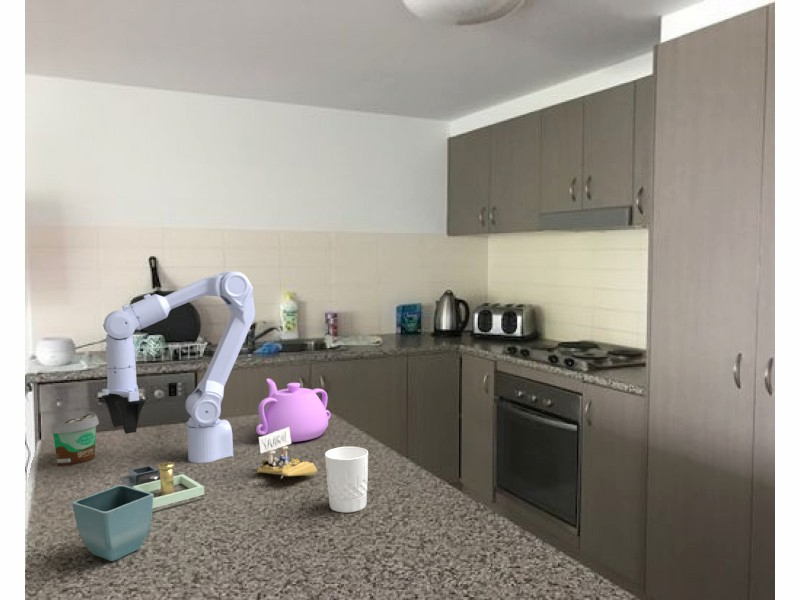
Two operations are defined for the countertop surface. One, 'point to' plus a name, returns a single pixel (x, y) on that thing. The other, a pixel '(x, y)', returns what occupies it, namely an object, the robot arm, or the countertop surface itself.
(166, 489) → the pin
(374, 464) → the countertop surface
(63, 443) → the food container
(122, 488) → the flower pot
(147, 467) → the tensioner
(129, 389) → the robot arm
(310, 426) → the teapot
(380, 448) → the countertop surface
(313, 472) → the figurine with sign
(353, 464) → the white cup
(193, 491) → the tray
